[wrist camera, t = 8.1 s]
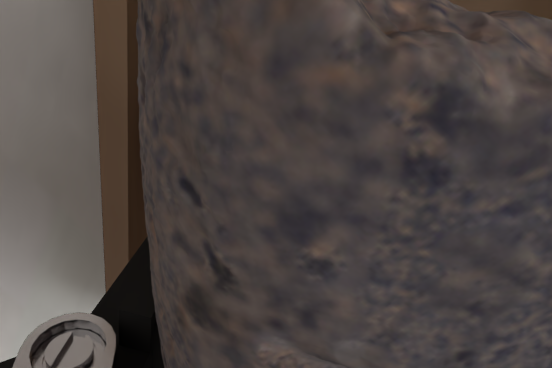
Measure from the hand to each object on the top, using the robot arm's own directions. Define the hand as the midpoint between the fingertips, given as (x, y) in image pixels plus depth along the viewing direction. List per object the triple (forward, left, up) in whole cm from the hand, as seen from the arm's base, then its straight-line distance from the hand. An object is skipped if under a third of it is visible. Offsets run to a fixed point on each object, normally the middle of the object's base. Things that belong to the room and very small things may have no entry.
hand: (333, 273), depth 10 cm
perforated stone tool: (0, 0, -1) cm, 1 cm away
